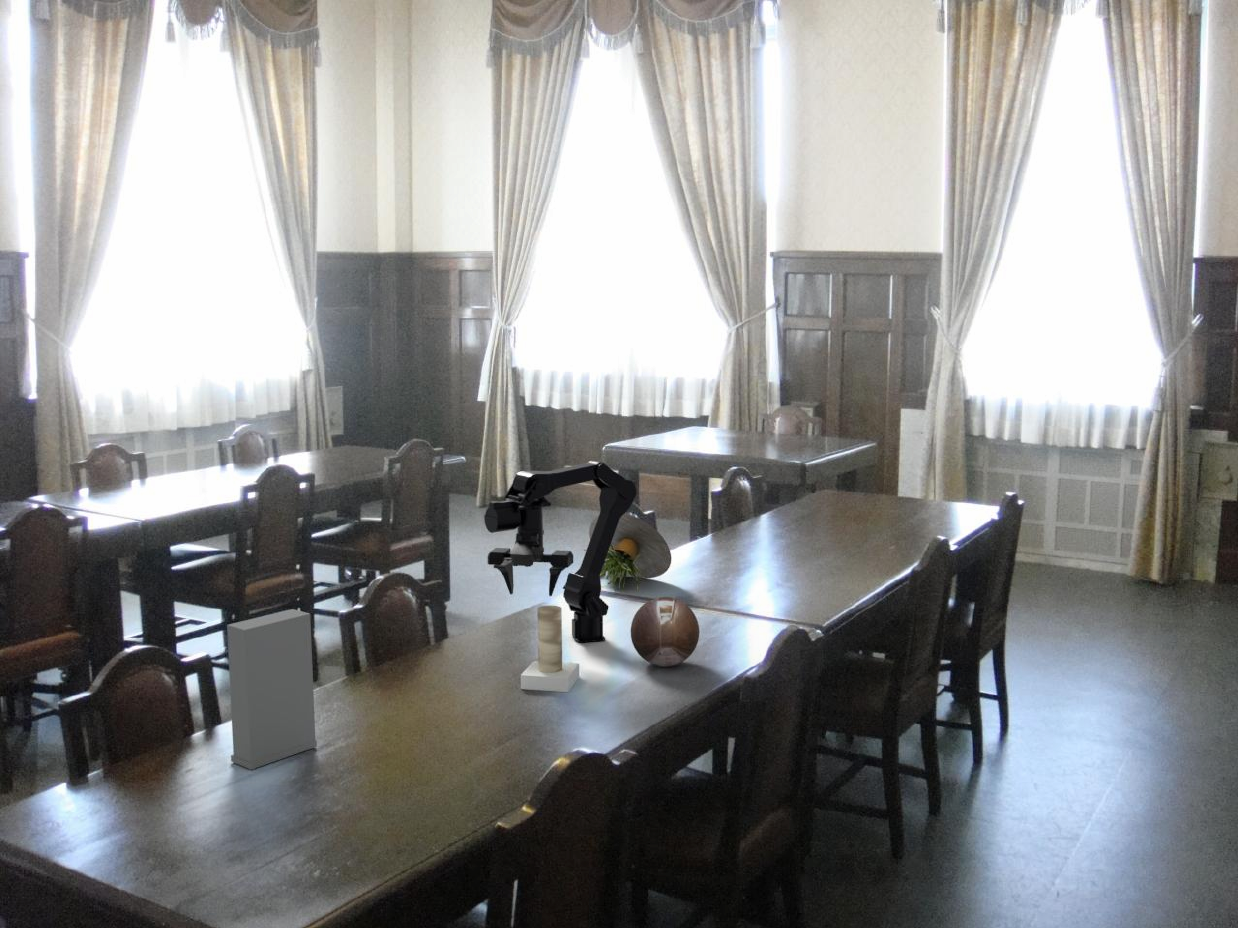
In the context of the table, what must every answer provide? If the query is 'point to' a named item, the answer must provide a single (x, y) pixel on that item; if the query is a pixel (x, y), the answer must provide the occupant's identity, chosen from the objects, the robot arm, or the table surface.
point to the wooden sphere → (665, 631)
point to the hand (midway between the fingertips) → (531, 594)
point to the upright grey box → (271, 687)
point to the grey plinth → (550, 678)
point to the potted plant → (635, 551)
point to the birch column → (549, 639)
